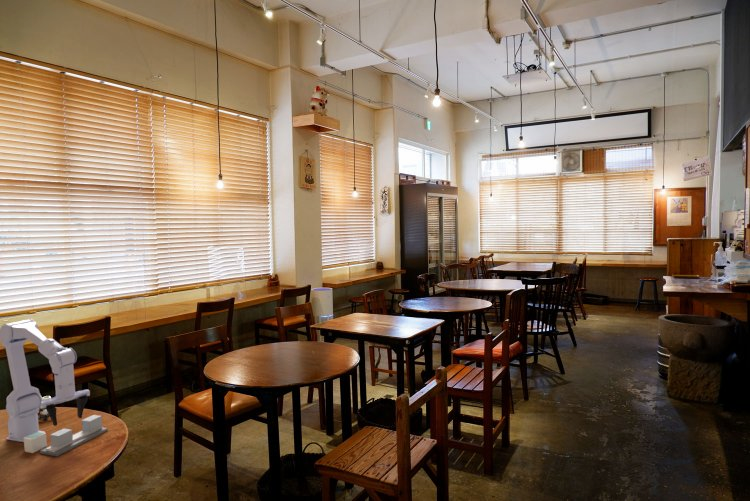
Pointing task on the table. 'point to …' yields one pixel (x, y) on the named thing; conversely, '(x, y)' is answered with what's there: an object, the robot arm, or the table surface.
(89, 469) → the table surface
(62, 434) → the board
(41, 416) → the valve
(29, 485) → the table surface
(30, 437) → the cream module
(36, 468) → the table surface
